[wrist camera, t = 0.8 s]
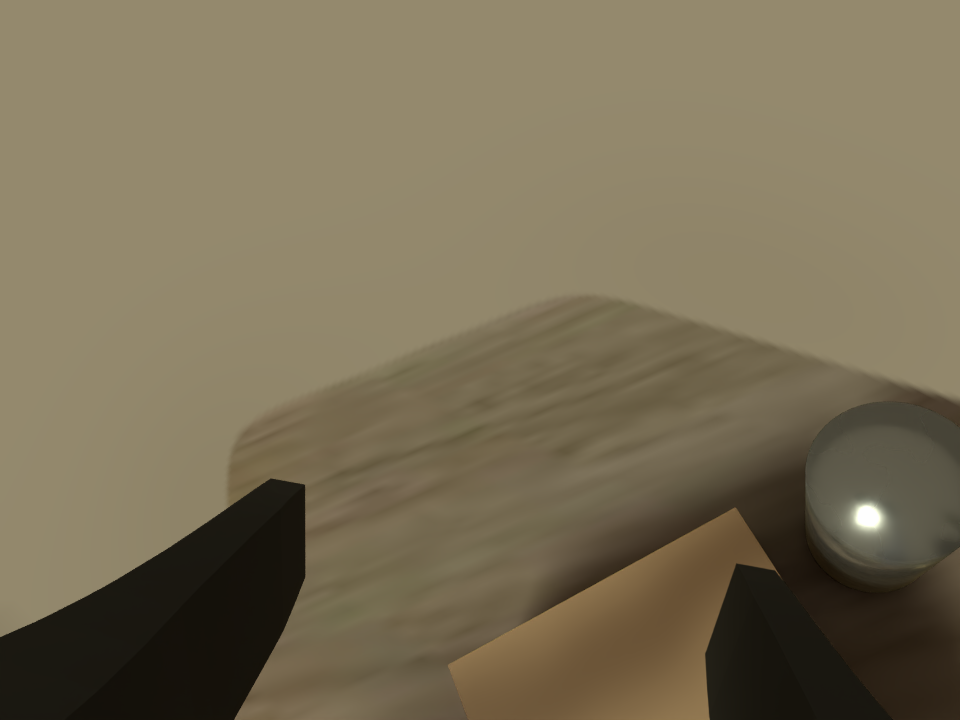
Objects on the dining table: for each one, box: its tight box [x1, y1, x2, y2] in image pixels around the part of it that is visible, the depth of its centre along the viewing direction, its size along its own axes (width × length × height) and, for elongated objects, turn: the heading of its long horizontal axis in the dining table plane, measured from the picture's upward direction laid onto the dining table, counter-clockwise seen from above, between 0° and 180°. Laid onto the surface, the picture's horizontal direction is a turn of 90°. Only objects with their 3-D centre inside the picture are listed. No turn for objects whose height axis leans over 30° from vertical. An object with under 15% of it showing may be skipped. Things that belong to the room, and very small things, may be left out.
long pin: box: [805, 402, 960, 593], centre depth 22 cm, size 4×4×9 cm
